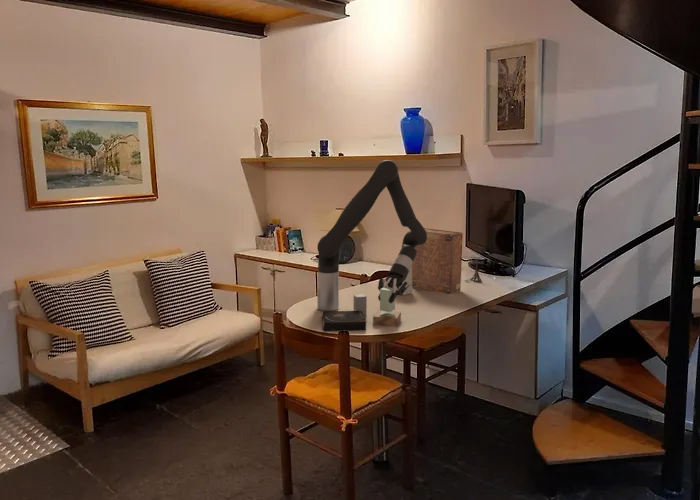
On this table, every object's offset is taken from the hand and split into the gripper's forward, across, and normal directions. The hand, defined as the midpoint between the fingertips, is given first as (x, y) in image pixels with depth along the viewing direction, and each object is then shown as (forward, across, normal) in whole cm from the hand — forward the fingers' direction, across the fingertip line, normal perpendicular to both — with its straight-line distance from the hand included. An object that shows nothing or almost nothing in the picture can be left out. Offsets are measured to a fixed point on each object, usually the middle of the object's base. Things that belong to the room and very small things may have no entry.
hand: (385, 301), depth 248 cm
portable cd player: (+16, -13, -1) cm, 20 cm away
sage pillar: (+2, 0, +4) cm, 5 cm away
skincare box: (-28, -22, +42) cm, 55 cm away
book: (-41, -14, +55) cm, 70 cm away
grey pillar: (+5, -15, +9) cm, 18 cm away
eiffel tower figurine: (-61, -5, +76) cm, 98 cm away
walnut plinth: (+6, 0, +8) cm, 10 cm away
